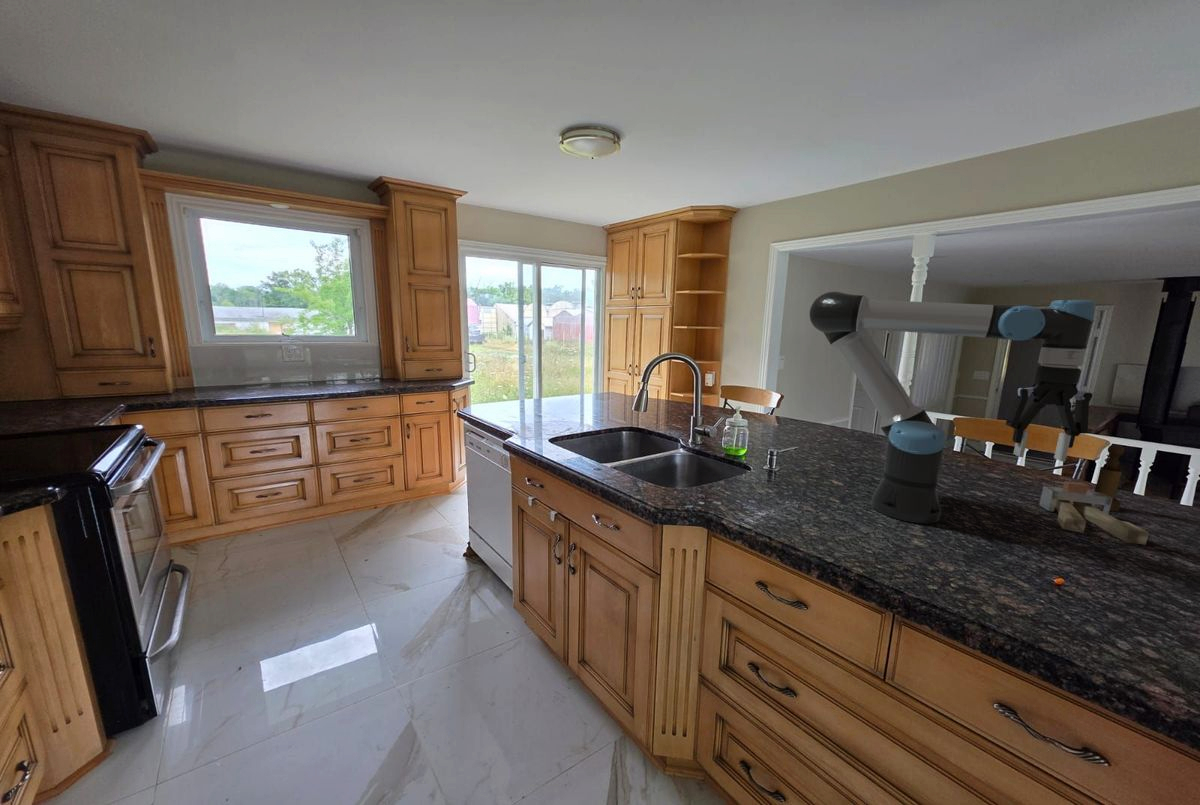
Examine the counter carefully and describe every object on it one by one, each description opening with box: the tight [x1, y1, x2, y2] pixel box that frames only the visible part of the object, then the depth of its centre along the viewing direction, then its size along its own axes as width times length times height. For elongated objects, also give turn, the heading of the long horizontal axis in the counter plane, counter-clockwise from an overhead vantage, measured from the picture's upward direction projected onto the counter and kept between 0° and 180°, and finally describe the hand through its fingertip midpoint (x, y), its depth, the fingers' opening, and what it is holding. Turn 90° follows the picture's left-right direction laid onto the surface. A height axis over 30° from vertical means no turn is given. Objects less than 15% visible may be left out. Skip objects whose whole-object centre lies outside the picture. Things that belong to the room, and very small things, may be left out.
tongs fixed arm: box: [1069, 501, 1150, 546], centre depth 114 cm, size 5×23×3 cm, turn 162°
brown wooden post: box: [1087, 444, 1125, 512], centre depth 123 cm, size 7×6×18 cm
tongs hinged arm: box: [1054, 486, 1087, 534], centre depth 117 cm, size 6×24×4 cm, turn 144°
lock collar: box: [1038, 480, 1113, 515], centre depth 119 cm, size 12×4×8 cm, turn 72°
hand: (1038, 457), depth 110 cm, fingers open, 8 cm apart
